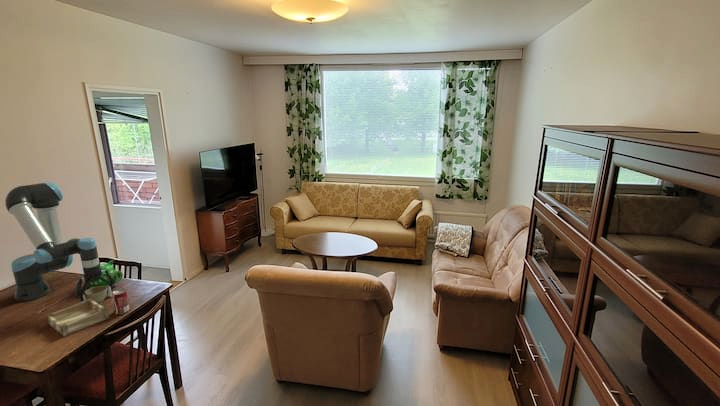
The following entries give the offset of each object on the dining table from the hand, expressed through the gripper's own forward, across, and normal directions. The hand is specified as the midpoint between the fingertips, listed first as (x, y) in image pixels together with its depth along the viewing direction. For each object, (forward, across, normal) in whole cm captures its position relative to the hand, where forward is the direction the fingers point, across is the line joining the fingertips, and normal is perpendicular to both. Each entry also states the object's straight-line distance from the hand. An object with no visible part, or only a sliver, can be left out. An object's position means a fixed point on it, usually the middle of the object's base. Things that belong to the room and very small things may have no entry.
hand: (98, 300), depth 194 cm
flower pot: (+1, 0, 0) cm, 1 cm away
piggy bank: (+1, +10, +17) cm, 20 cm away
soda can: (+1, +2, -23) cm, 23 cm away
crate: (0, -14, -14) cm, 20 cm away
